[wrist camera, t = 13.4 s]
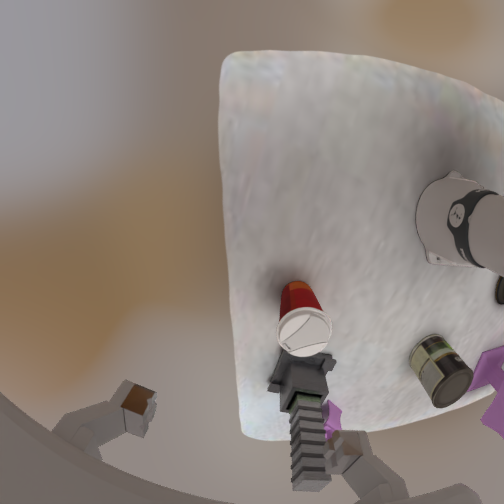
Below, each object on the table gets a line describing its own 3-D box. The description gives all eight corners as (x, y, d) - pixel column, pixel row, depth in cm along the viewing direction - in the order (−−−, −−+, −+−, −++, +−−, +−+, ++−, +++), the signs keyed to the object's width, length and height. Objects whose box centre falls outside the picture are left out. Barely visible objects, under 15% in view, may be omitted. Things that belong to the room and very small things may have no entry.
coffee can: (435, 325, 48) (467, 360, 34) (449, 348, 49) (478, 381, 35) (401, 357, 50) (426, 397, 37) (418, 376, 51) (441, 414, 38)
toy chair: (295, 414, 56) (298, 463, 41) (326, 397, 54) (336, 447, 39) (314, 428, 57) (320, 474, 43) (344, 412, 55) (355, 459, 41)
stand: (333, 353, 51) (344, 387, 41) (314, 390, 53) (320, 424, 43) (283, 343, 51) (284, 378, 41) (267, 382, 53) (266, 417, 43)
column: (319, 396, 42) (333, 480, 25) (310, 411, 43) (319, 491, 26) (296, 392, 42) (303, 479, 25) (288, 408, 43) (291, 491, 26)
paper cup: (289, 321, 49) (294, 367, 36) (267, 289, 48) (265, 329, 35) (326, 300, 48) (343, 342, 34) (305, 266, 46) (318, 300, 33)
